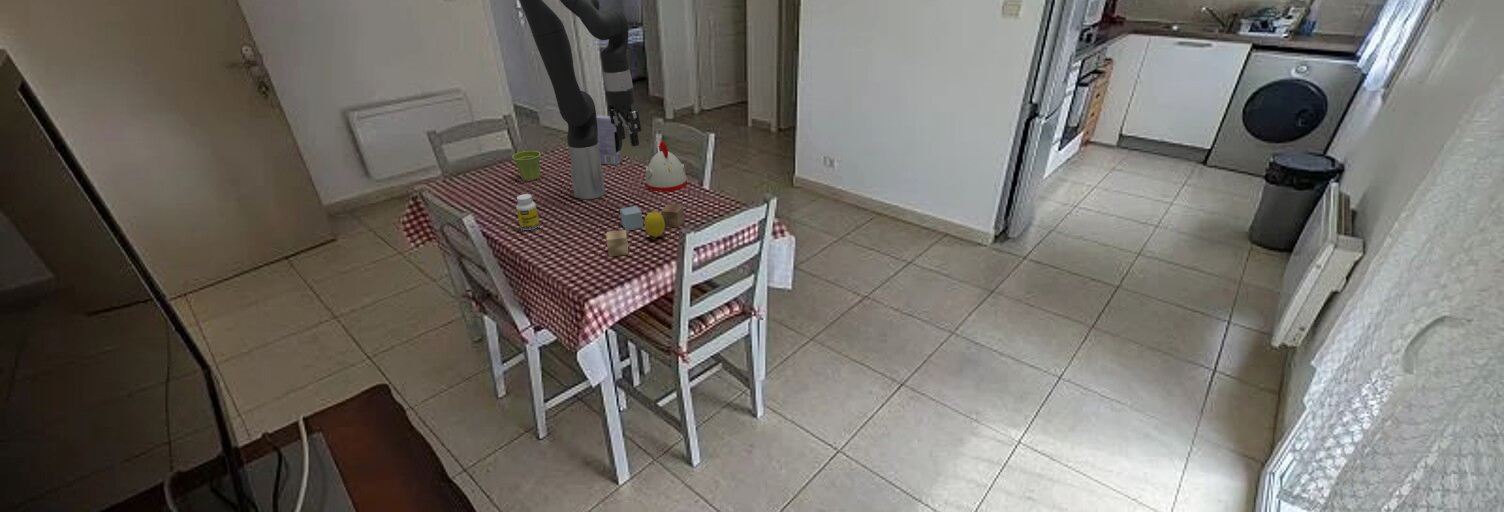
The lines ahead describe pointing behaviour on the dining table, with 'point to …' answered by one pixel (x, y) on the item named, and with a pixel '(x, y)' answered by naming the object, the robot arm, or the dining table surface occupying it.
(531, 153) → the plant pot
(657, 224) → the lemon
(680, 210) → the block walnut
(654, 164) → the kitchen timer
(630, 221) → the block slate
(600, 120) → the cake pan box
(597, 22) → the robot arm
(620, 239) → the block oak
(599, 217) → the dining table surface
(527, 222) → the supplement bottle
